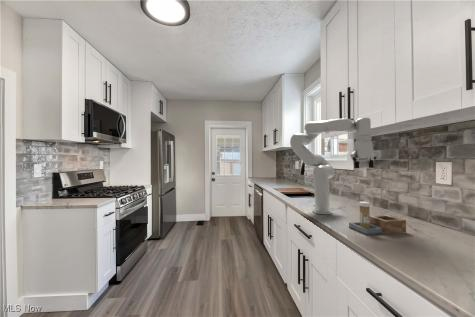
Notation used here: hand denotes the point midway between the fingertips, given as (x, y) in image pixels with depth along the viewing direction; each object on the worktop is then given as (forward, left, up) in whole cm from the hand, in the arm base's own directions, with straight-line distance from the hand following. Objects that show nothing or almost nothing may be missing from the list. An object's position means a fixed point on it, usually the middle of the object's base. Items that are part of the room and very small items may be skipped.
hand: (364, 168), depth 130 cm
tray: (+17, -14, -30) cm, 38 cm away
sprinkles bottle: (+17, -14, -30) cm, 37 cm away
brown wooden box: (+19, -4, -30) cm, 36 cm away
